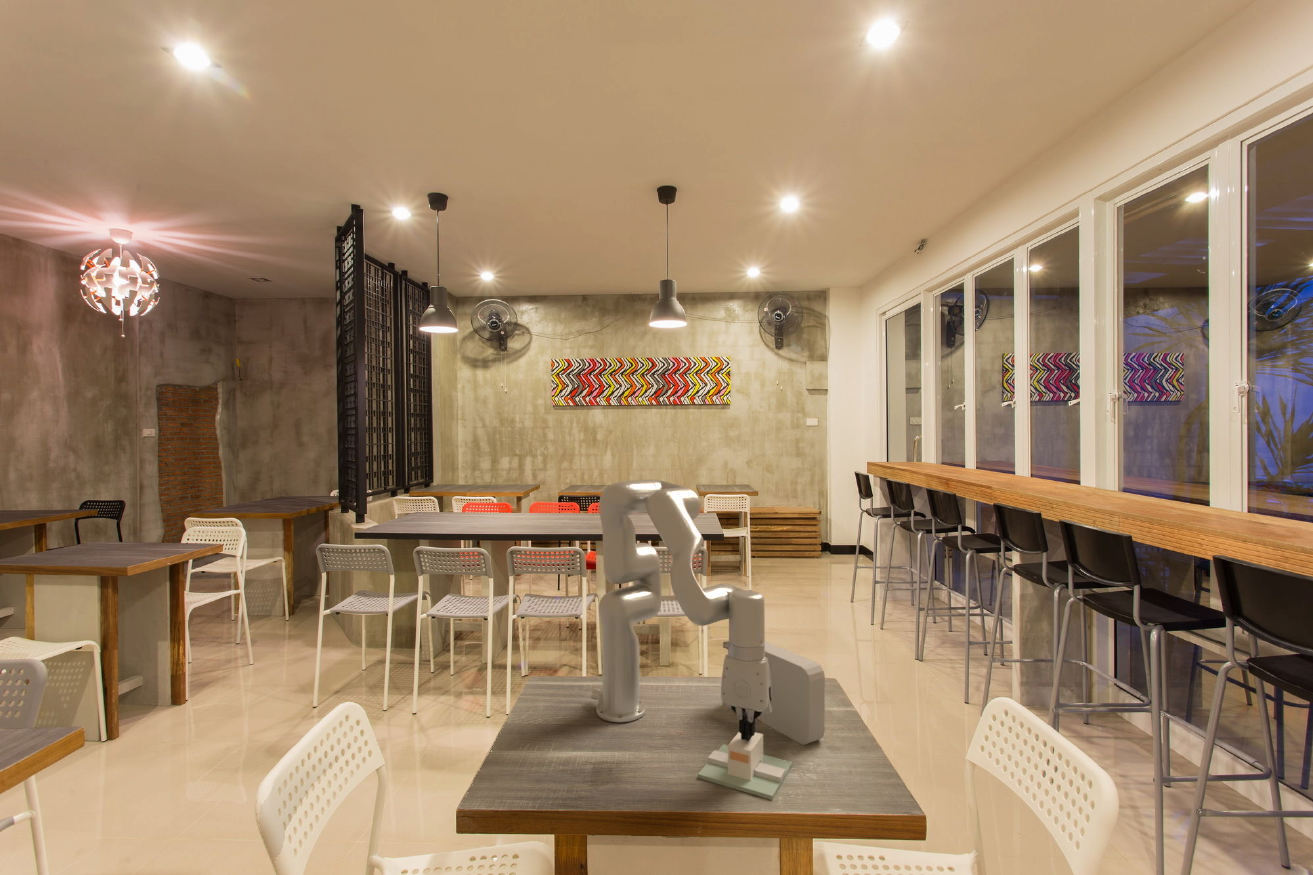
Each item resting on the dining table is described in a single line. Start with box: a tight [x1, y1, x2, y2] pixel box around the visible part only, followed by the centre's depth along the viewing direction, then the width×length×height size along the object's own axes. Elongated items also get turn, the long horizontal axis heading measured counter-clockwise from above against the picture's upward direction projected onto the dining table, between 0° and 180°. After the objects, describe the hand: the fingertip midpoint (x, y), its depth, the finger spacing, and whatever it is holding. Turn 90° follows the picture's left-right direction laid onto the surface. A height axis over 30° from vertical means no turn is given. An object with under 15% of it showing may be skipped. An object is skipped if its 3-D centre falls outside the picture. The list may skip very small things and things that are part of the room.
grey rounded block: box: [746, 641, 826, 746], centre depth 151 cm, size 29×8×18 cm, turn 33°
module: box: [727, 731, 764, 781], centre depth 128 cm, size 5×8×6 cm, turn 152°
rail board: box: [697, 743, 793, 801], centre depth 128 cm, size 16×14×2 cm
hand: (747, 737), depth 128 cm, fingers closed
